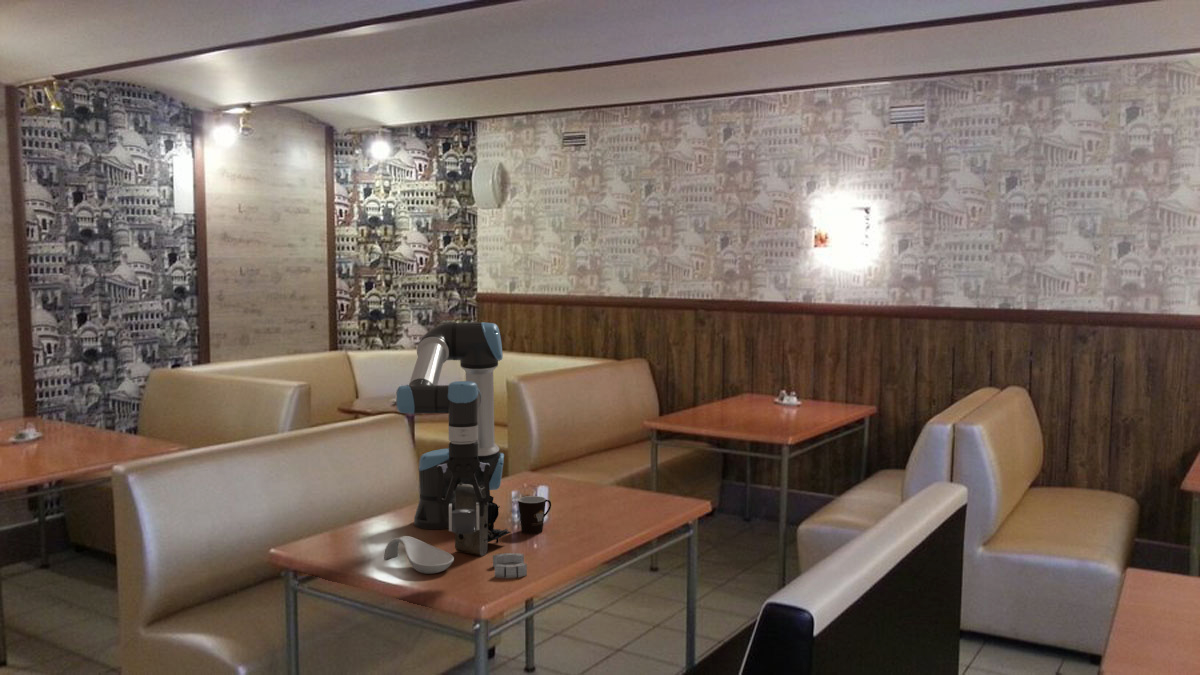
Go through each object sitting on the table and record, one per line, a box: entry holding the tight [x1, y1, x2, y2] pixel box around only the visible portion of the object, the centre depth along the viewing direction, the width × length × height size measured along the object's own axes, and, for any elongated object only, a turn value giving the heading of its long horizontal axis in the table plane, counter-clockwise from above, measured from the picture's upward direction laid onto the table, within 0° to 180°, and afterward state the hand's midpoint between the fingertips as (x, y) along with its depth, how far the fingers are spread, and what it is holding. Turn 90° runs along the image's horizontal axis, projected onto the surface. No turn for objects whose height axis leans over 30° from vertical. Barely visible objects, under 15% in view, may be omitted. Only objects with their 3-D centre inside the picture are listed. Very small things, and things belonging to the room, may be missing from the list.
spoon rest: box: [383, 535, 455, 575], centre depth 246 cm, size 24×12×7 cm, turn 51°
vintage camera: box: [454, 483, 512, 557], centre depth 262 cm, size 10×16×20 cm, turn 149°
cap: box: [451, 509, 476, 534], centre depth 236 cm, size 6×6×5 cm
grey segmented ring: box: [492, 552, 528, 579], centre depth 242 cm, size 12×8×3 cm
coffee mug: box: [517, 495, 552, 535], centre depth 280 cm, size 12×9×10 cm
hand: (464, 529), depth 236 cm, fingers closed on cap, 6 cm apart
